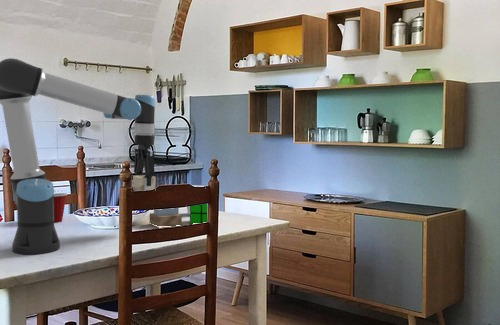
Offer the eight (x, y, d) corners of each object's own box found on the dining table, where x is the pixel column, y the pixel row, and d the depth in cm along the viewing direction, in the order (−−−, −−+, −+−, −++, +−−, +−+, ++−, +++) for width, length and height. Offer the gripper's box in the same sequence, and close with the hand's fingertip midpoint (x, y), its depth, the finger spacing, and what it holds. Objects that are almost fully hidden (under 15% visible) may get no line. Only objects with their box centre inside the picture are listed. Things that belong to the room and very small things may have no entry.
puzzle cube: (216, 220, 245) (217, 198, 244) (213, 225, 235) (213, 202, 234) (194, 220, 246) (194, 197, 245) (189, 224, 236) (189, 201, 235)
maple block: (138, 195, 214) (138, 177, 214) (131, 193, 220) (131, 175, 219) (155, 194, 218) (155, 176, 218) (148, 192, 224) (148, 175, 223)
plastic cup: (57, 218, 245) (57, 191, 244) (73, 221, 238) (72, 193, 237) (35, 221, 236) (35, 193, 235) (51, 225, 230) (50, 196, 228)
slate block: (158, 216, 229) (158, 206, 228) (153, 214, 233) (153, 204, 233) (178, 214, 233) (178, 204, 233) (173, 212, 238) (173, 203, 237)
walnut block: (159, 229, 227) (159, 217, 226) (149, 225, 235) (149, 213, 234) (181, 226, 232) (181, 215, 232) (171, 222, 240) (171, 211, 240)
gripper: (164, 135, 211) (163, 195, 213) (143, 133, 228) (142, 189, 229) (146, 135, 207) (145, 196, 209) (125, 133, 223) (125, 190, 225)
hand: (143, 192), depth 219 cm, fingers closed on maple block, 7 cm apart
